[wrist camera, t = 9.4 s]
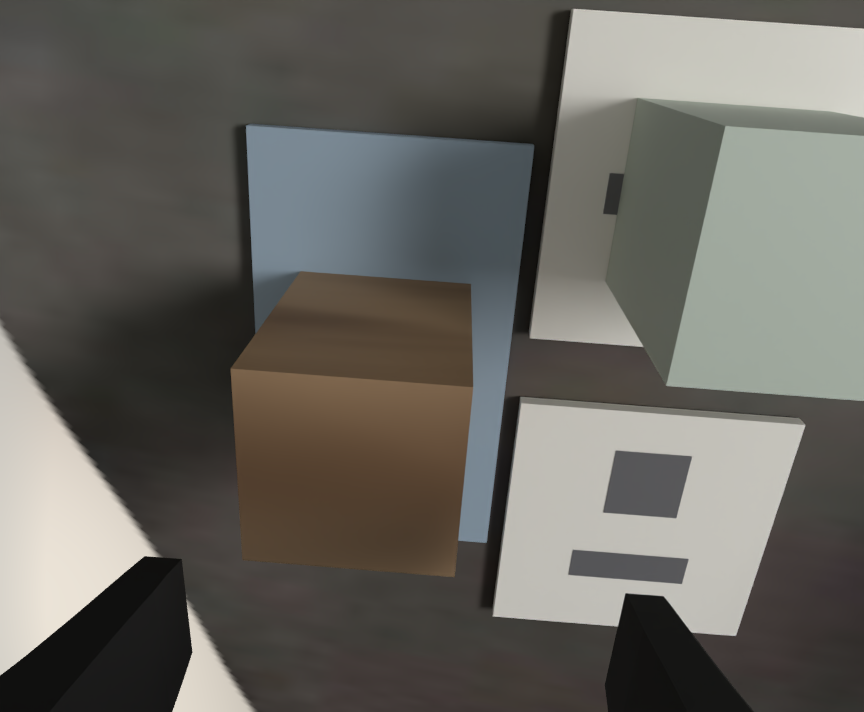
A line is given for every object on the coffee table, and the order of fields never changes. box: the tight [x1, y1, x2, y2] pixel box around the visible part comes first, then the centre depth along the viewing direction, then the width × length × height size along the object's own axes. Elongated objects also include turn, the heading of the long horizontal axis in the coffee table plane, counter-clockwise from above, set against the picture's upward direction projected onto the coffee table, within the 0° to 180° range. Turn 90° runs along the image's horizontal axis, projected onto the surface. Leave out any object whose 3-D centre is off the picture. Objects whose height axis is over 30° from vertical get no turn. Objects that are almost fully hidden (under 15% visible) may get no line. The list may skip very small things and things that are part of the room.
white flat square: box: [529, 9, 864, 347], centre depth 17 cm, size 8×8×1 cm
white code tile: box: [493, 397, 805, 636], centre depth 21 cm, size 8×8×1 cm
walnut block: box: [231, 271, 473, 577], centre depth 16 cm, size 4×4×6 cm
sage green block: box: [605, 98, 864, 401], centre depth 14 cm, size 4×4×6 cm
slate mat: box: [246, 124, 534, 543], centre depth 19 cm, size 12×7×1 cm, turn 176°
